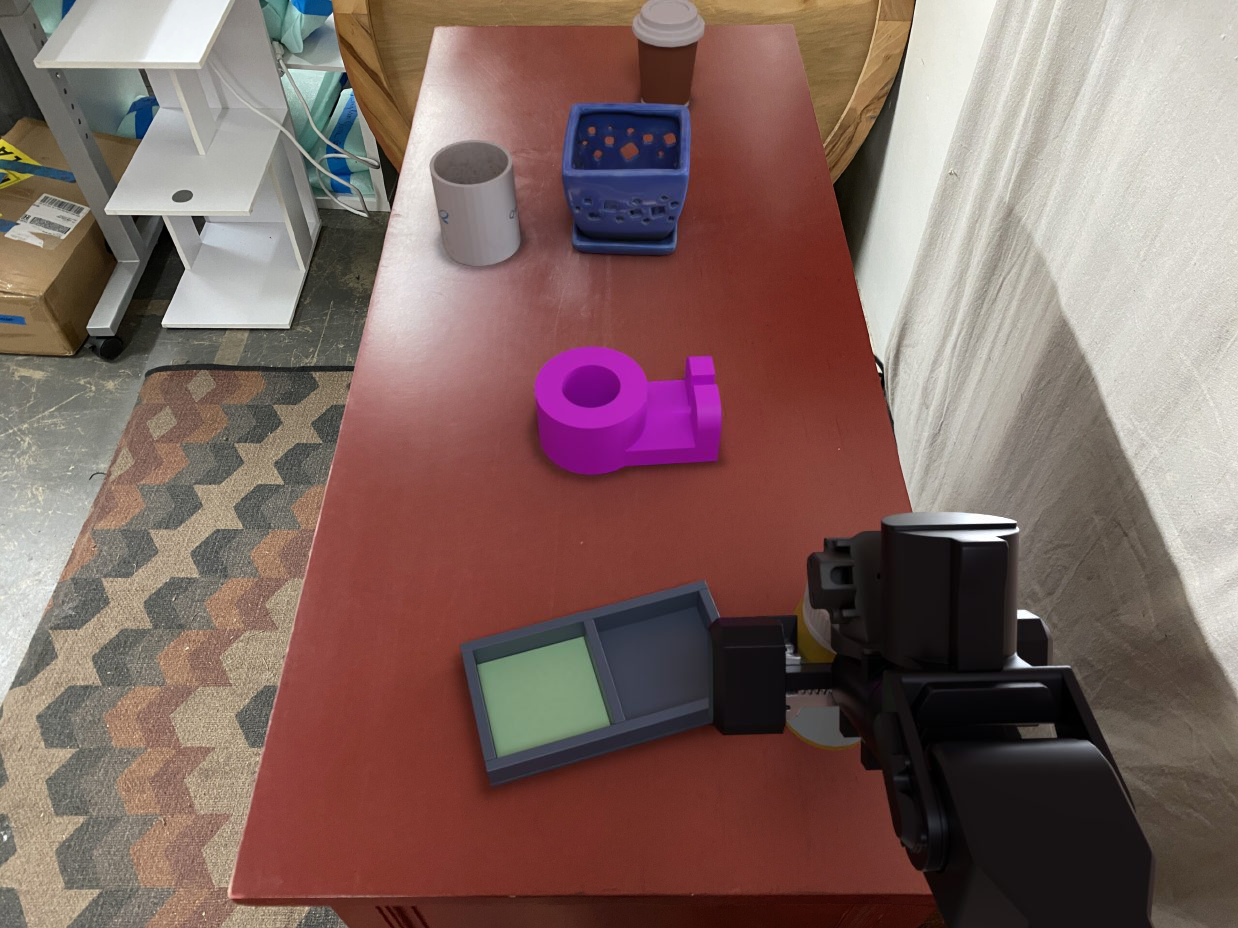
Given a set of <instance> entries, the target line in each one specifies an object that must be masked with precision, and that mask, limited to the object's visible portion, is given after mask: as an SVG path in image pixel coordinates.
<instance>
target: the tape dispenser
mask: <svg viewBox="0 0 1238 928" xmlns="http://www.w3.org/2000/svg"><path fill="white" fill-rule="evenodd" d="M646 376H647V375H646V374H645V372H644V370H643V369H642V367H641V366H640V365H639V363H637V362H636V361H635V360H634V359H633V358H632V357H630V356H629V355H627V354H625V353H624V352H621V351H618V350H616V349H613V348H609V347H602V346H581V347H576V348H571V349H568V350H565V351H563V352H560V353H559V354H556V355H555V356H553V357H552V358H550V359H549V360H548V361H547V362H546V363H545V364H544V365H543V366H542V367H541V369H540V370H539V371H538V373H537V376H536V378H535V382H534V398H535V408H536V417H537V427H538V437H539V443H540V446H541V449H542V450H543V452H544V454H545V455H546V456H547V458H548V459H549V460H550V461H551V462H552V463H553V464H555V465H557V466H558V467H560V468H561V469H563V470H566V471H568V472H571V473H576V474H581V475H590V476H591V475H593V476H595V475H603V474H609V473H612V472H614V471H618V470H620V469H623V468H624V467H634V466H637V467H638V466H651V465H654V466H655V465H671V464H672V465H673V464H687V463H705V462H718V458H719V457H718V455H719V447H720V441H721V432H722V425H723V424H722V422H723V421H722V418H723V417H722V403H721V396H720V392H719V388H718V386H719V385H718V384H716V383H715V380H716V371H715V366H714V360H713V357H712V356H711V355H698V356H696V355H695V356H686V359H685V368H684V379H672V380H655V381H648V380H647V377H646Z"/></svg>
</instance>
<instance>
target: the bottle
mask: <svg viewBox="0 0 1238 928" xmlns="http://www.w3.org/2000/svg"><path fill="white" fill-rule="evenodd" d="M793 615H797V616H798V654H799V655H800V657H801V663H828V662H833V660H834V658H835V656H836V654H837V653H836V652H835V651H834V650H833V649H832V648H831V623H830V618H829V613H828V612H827V611H826V610H824V609H817V610H814V609H813V608H812V607H811V605H810V602H809V590H808V579H806V586H805V591H804V596H802V597H801V598H800V600H799V601H798V603H797V605H796V607H795V609H794V611H793ZM822 690H823V692H825V689H822ZM829 690H830V692H831V689H829ZM801 691H802V693H803V692H804V690H801ZM808 691H809V693H810V692H811V690H808ZM815 691H816V693H817V692H818V690H815ZM786 727H787V728H788V729H789V730H790V732H791V733H792V734H793V735H795V736H796V737H797V738H798V739H799V740H801V741H802V742H803V743H806V744H809V745H811V746H812V747H814V748H818V749H822V750H827V751H828V750H829V751H841V750H847V749H851V748H853V747H855V746H858V745H861V739H862V738H861V737H853V738H844V737H843V735H842V734H841V732H840V731H839V707H804V708H802V709H801V710H800V711H799V713H798V716H797V717H795V718H793V719H789V720H786ZM862 740H863V739H862Z"/></svg>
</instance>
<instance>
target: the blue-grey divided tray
mask: <svg viewBox="0 0 1238 928" xmlns="http://www.w3.org/2000/svg"><path fill="white" fill-rule="evenodd" d="M720 617H721V615H720V614H719V611H718V607H717V606H716V604H715V602H714V599H713V597H712V594H711V591H710V589H709V587H708V584H707V582H706V579H703V580H698V581H694V582H690V583H686V584H682V585H679V586H675V587H672V588H667V589H664V590H660V591H657V592H652V593H649V594H645V595H641V596H636V597H633V598H630V599H626V600H622V601H618V602H615V603H611V604H606V605H603V606H600V607H595V608H592V609H588V610H585V611H579V612H576V613H572V614H568V615H564V616H561V617H557V618H553V619H549V620H545V621H541V622H539V623H535V624H530V625H527V626H523V627H519V628H515V629H511V630H508V631H504V632H500V633H496V634H492V635H489V636H485V637H480V638H477V639H473V640H469V641H466V642H465V641H464V642H461V643H459V646H460V652H461V658H462V661H463V667H464V671H465V675H466V681H467V685H468V690H469V695H470V699H471V704H472V709H473V714H474V718H475V724H476V728H477V733H478V738H479V743H480V746H481V747H480V748H481V751H482V757H483V761H484V766H485V770H486V774H487V777H488V781H489V784H490V787H491V788H495V787H498V786H501V785H505V784H509V783H512V782H515V781H519V780H522V779H525V778H529V777H533V776H536V775H539V774H542V773H547V772H549V771H553V770H556V769H560V768H563V767H567V766H569V765H573V764H576V763H577V764H578V763H580V762H584V761H587V760H591V759H594V758H598V757H602V756H605V755H607V754H611V753H614V752H618V751H622V750H625V749H628V748H631V747H635V746H639V745H642V744H645V743H650V742H652V741H656V740H659V739H662V738H666V737H669V736H673V735H676V734H679V733H682V732H687V731H689V730H690V731H691V730H693V729H697V728H700V727H704V726H707V725H712V723H711V720H710V717H709V701H708V627H709V626H710V625H711V624H712V623H713V622H714V621H715V620H716V618H720Z"/></svg>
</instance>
